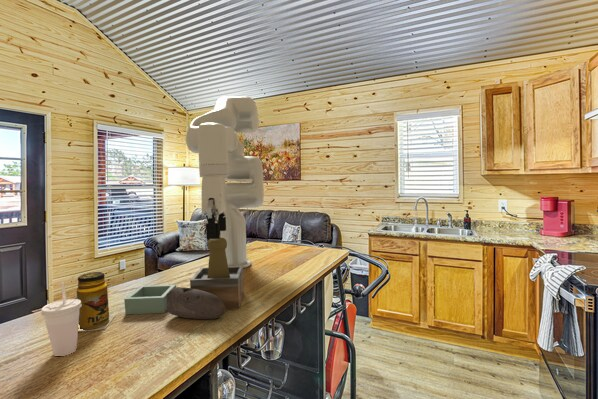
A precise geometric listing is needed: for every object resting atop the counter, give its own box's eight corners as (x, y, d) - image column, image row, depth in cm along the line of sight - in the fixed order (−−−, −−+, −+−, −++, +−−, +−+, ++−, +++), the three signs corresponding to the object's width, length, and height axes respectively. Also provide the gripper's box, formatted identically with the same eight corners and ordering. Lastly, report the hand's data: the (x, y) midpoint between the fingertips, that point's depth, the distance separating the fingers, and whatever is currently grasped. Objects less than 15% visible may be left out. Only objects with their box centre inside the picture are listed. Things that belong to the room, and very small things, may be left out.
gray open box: (202, 295, 92) (200, 267, 92) (243, 293, 93) (242, 266, 92) (191, 311, 81) (190, 280, 81) (238, 309, 82) (237, 278, 81)
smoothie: (91, 347, 65) (86, 280, 64) (56, 364, 59) (50, 291, 58) (72, 340, 67) (67, 276, 66) (37, 356, 62) (31, 286, 61)
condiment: (105, 329, 72) (101, 278, 72) (62, 334, 71) (58, 281, 70) (115, 315, 80) (112, 268, 79) (77, 320, 78) (73, 271, 77)
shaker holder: (141, 299, 90) (141, 285, 89) (176, 298, 90) (175, 284, 90) (125, 314, 80) (124, 299, 80) (164, 312, 81) (163, 297, 80)
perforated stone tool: (230, 316, 78) (229, 288, 78) (219, 326, 73) (218, 296, 72) (178, 310, 82) (177, 283, 82) (164, 319, 77) (163, 291, 77)
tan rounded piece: (224, 281, 83) (222, 240, 82) (203, 280, 84) (201, 240, 84) (233, 274, 89) (231, 236, 88) (213, 273, 90) (211, 235, 90)
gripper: (207, 170, 93) (210, 228, 95) (190, 172, 76) (194, 242, 78) (233, 170, 93) (235, 227, 95) (222, 171, 76) (225, 241, 78)
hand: (217, 234), depth 86 cm, fingers open, 9 cm apart
